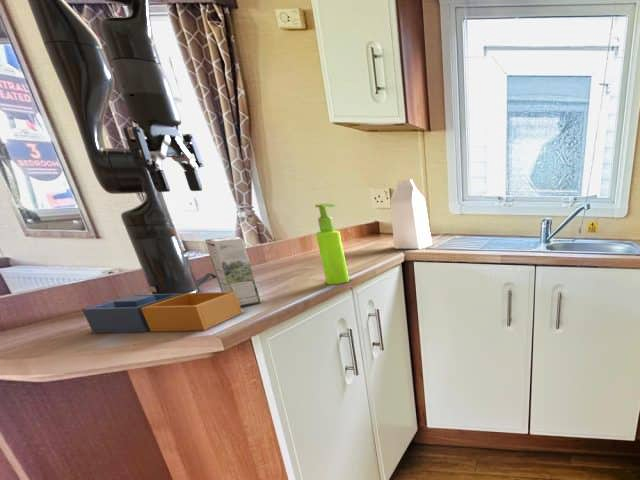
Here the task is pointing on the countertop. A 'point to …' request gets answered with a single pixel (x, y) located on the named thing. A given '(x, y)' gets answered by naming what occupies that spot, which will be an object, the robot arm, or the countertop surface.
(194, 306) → the honey bin
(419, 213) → the milk
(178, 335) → the countertop surface
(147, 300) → the slate block
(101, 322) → the slate bin
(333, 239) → the soap dispenser
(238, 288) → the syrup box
